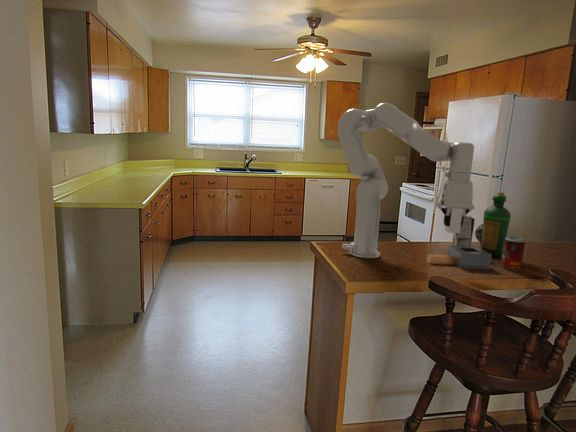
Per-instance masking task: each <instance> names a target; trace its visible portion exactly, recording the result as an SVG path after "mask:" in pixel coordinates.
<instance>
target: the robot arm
mask: <svg viewBox="0 0 576 432" xmlns="http://www.w3.org/2000/svg"><path fill="white" fill-rule="evenodd" d="M378 129H385V130H387V131H389V132H390V133H392V134H393V135H395V136H396V137H397V138H399V139H401V140H402V141H403V142H404V143H406V144H407V145H408V146H410V147H411V148H412V149H414V150H415V151H417V152H418V153H419V154H421V155H423V156H424V157H426V158H427V159H428V160H430V161H432V162H449V167H448V171H447V172H445V173H444V178H445V177H446V178H447V179H446V180H445V182H444V185H443V188H442V192H441V197H440V200H439V201H438V202H437V204H436V205H435V206H436V208H437V209H439V210H440V211H441V213H442V214H443V224H444V227H445V226H449V223H450V216H449V214H450V211H451V208H461V209H463V212H462V219H461V227H462V224H463V220H464V216H467V215H468V213H470V212H472V211H474V210H475V206H474V204H473V197H474V196H473V194H474V190H473V189H474V188H473V181H471V176H472V168H473V167H472V166H473V160H474V153H475V145H474V144H473V143H472V142H458V141H457V142H449V141H445V140H441V139H439V138H438V137H436V136H435V135H433V134H431V133H430V132H428V131H427V130H426V129H424V128H423V127H422V125H420V124H419V122H418V121H417V120H416V119H414V118H412V117H411V116H409V115H407V113H405V112H403V111H402V110H400V109H399V108H398V107H397V106H396V105H394V104H391V103H389V102H382V103H379V104H378V105H376V107H375V108H372V109H367V110H364V109H359V108H351V109H348V110H346V111H345V112H344V113H343V114H342V115H341V117H340V118H339V121H338V123H337V135H338V136H337V137H338V140H339V143H340V145H341V147H342V150H343V153H344V156H345V158H346V161H347V163H348V167H349V169H350V172H351V174H352V175H353V176H355V177H358V178H361V181H360V183H359V184H358V185H357V188H356V192H355V193H356V194H355V195H356V209H355V210H356V212H355V225H354V235H353V236H354V239H353V241H352V242H351V243H349V244H348V243H341V244H342V245H341V246H342V247H341V248H342V249H345V250H349V254H350V255H352V256H353V257H356V258H361V259H376V258H379V257H380V256H381V252H380V251H378V238H379V229H380V227H379V226H380V219H381V218H380V216H381V200H382V199H384V198H385V197H386V196H387V194H388V190H389V186H388V182H387V180H386V177H385V173H384V172H383V169H382V167H381V164H380V162H379V160H378V159H377V157H376V156H374V155H373V154H371V153H368V151H367V149H366V147H365V143H364V141H363V139H362V137H361V136H360V133H359V132H368V131H369V132H370V131H372V130H373V131H375V130H378Z"/></svg>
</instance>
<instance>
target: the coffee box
mask: <svg viewBox="0 0 576 432" xmlns="http://www.w3.org/2000/svg"><path fill="white" fill-rule="evenodd" d="M475 222H476V221H475V218H474V217H472V216H471V215H466V216H464V220H463V224H462V227H460V233H453V235H452V244H451V246H472V240H473V233H474V228H475Z"/></svg>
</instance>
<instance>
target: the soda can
mask: <svg viewBox="0 0 576 432" xmlns="http://www.w3.org/2000/svg"><path fill="white" fill-rule="evenodd" d="M525 245H526V241H525V240H524V239H523V238H520V237H517V236H506V238H505V241H504V248H503V255H502V257H501V262H500V263H501V266H502V268H503V269H505V270H509V271H519V270H520V268H521V267H522V265H523V264H522V263H523V258H524V251H525Z"/></svg>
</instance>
